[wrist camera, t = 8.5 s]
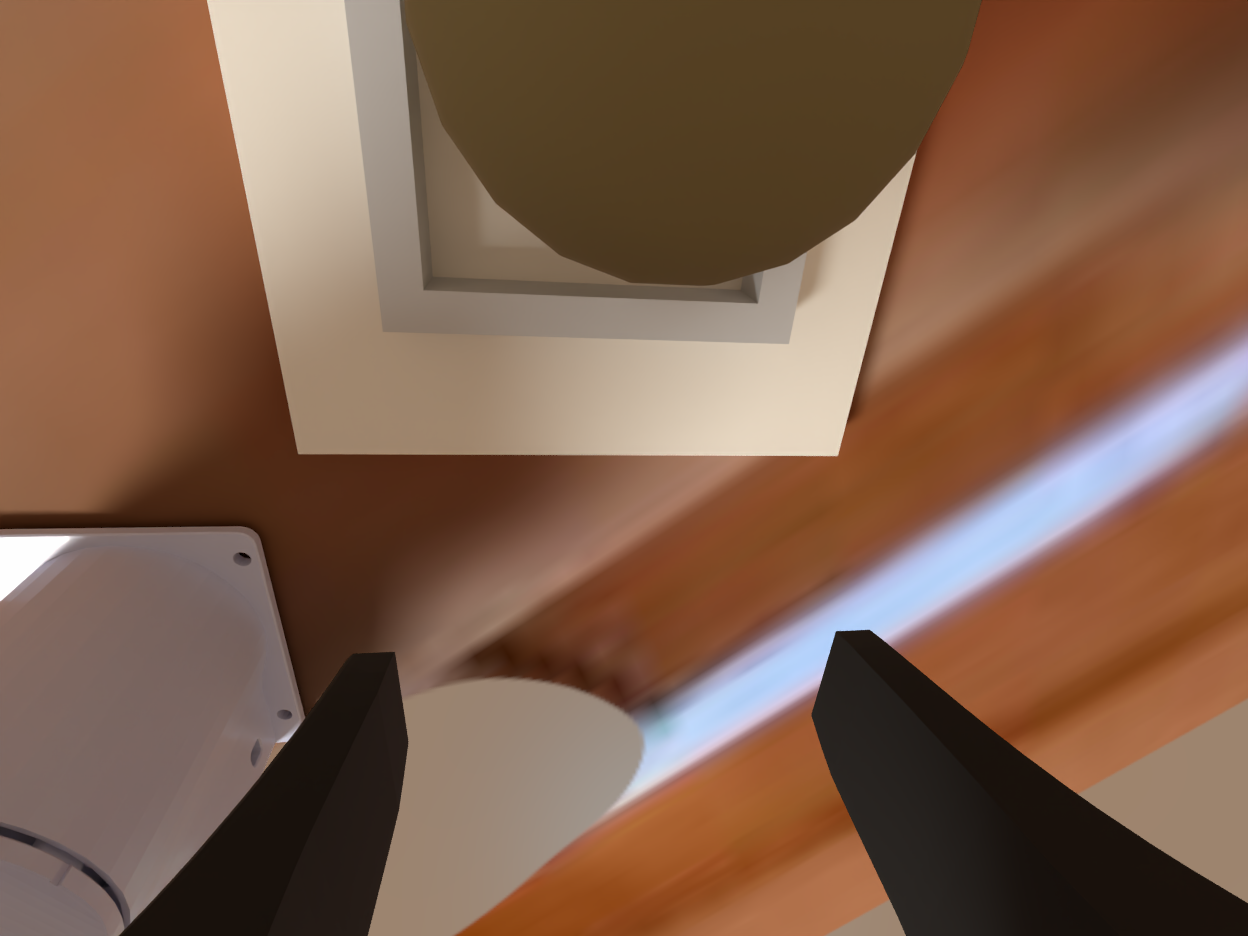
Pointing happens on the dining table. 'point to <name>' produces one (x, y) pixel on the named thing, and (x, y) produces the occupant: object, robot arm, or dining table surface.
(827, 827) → the dining table surface
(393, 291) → the holder board
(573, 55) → the cork
